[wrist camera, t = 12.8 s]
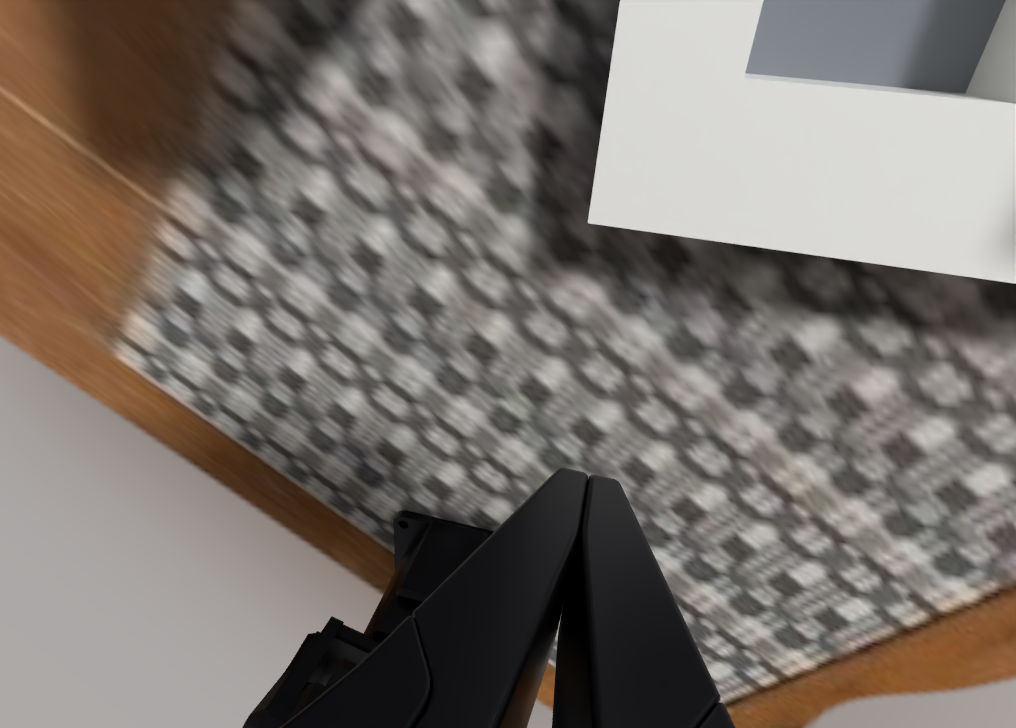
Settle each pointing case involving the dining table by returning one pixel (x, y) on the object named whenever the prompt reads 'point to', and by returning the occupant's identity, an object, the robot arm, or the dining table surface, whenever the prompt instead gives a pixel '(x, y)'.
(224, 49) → the dining table surface
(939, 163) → the square hole tray
